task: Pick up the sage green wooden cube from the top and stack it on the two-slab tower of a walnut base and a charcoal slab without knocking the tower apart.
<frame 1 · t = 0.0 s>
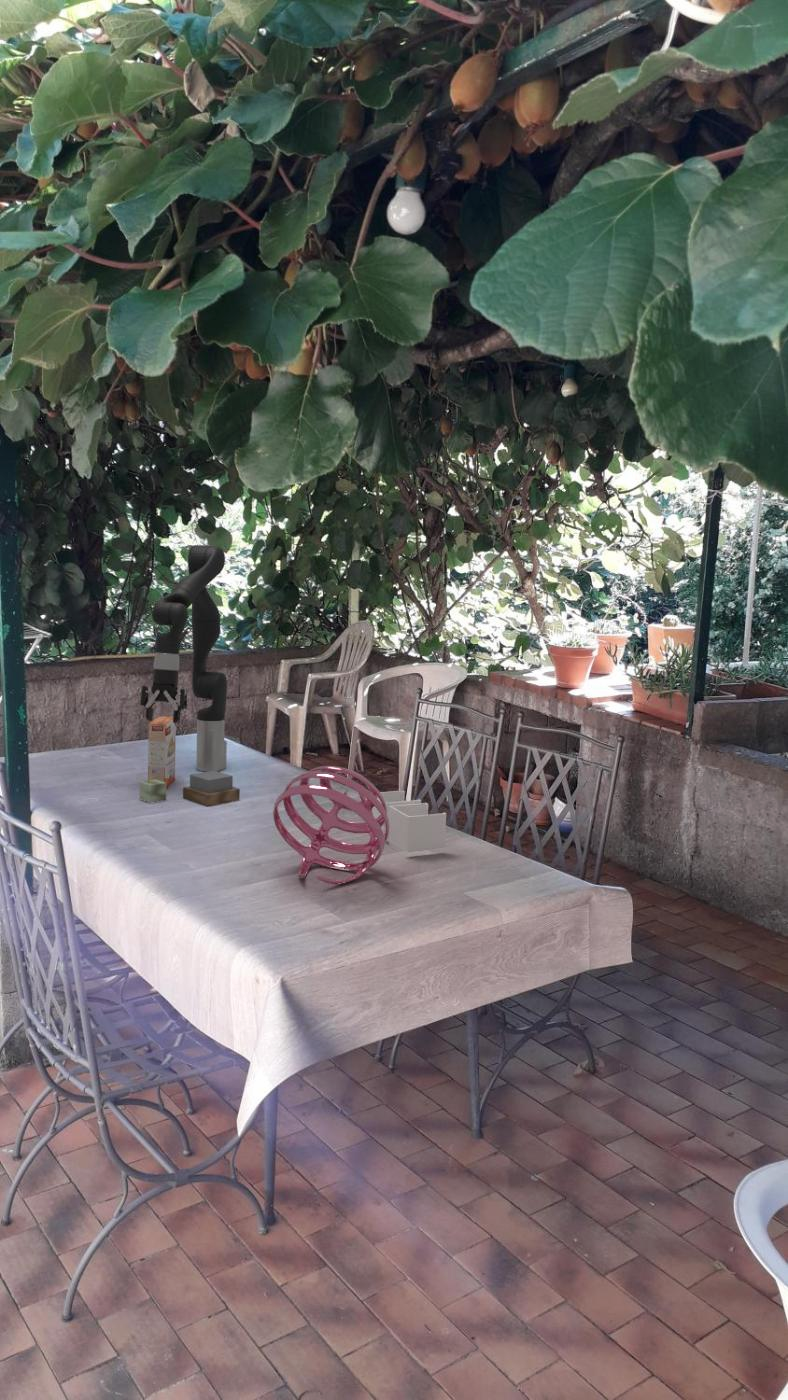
hand: (162, 721, 315), 22 cm above the table, tool pointing down, fingers open, 8 cm apart
green cube: (152, 800, 311), on the table
storage container: (403, 843, 279), on the table
top slab: (211, 788, 314), point 3 cm above the table, touching bottom slab
bottom slab: (211, 801, 314), on the table, touching top slab
cracker box: (162, 785, 329), on the table
spiral basket: (333, 875, 250), on the table
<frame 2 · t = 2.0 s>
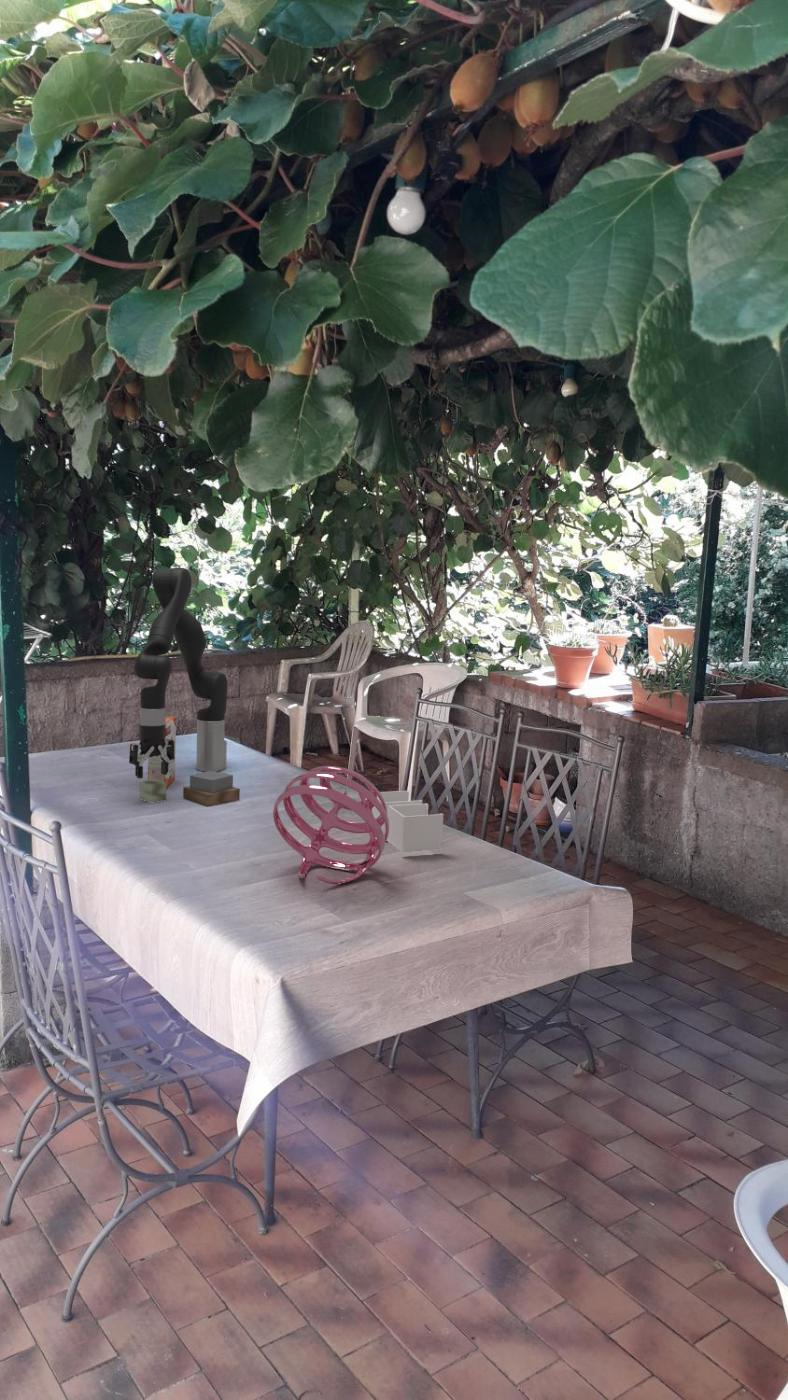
hand: (151, 776, 309), 7 cm above the table, tool pointing down, fingers open, 8 cm apart
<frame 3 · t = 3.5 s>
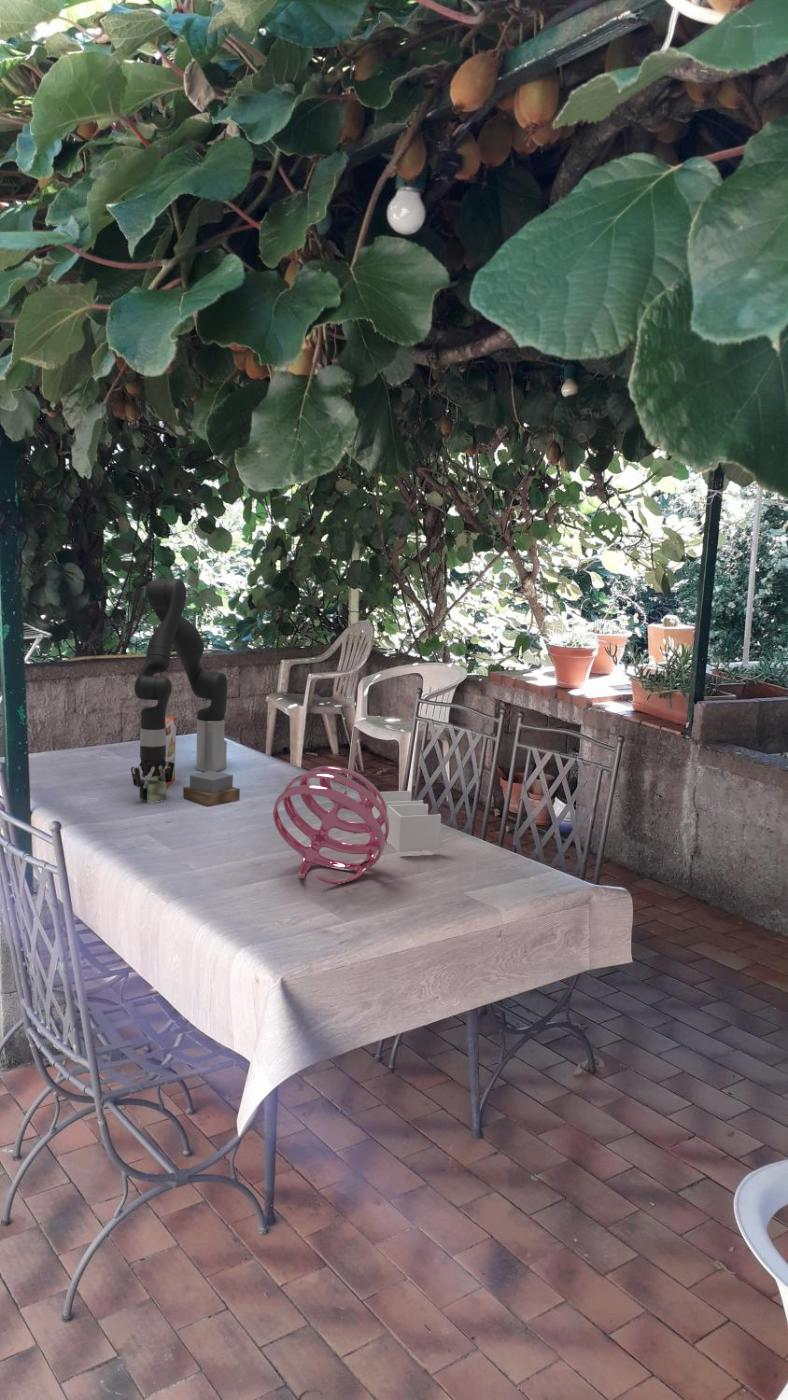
hand: (152, 798, 311), 1 cm above the table, tool pointing down, fingers closed on green cube, 5 cm apart
green cube: (152, 800, 311), on the table, touching gripper
top slab: (211, 788, 313), point 3 cm above the table
bottom slab: (211, 801, 314), on the table
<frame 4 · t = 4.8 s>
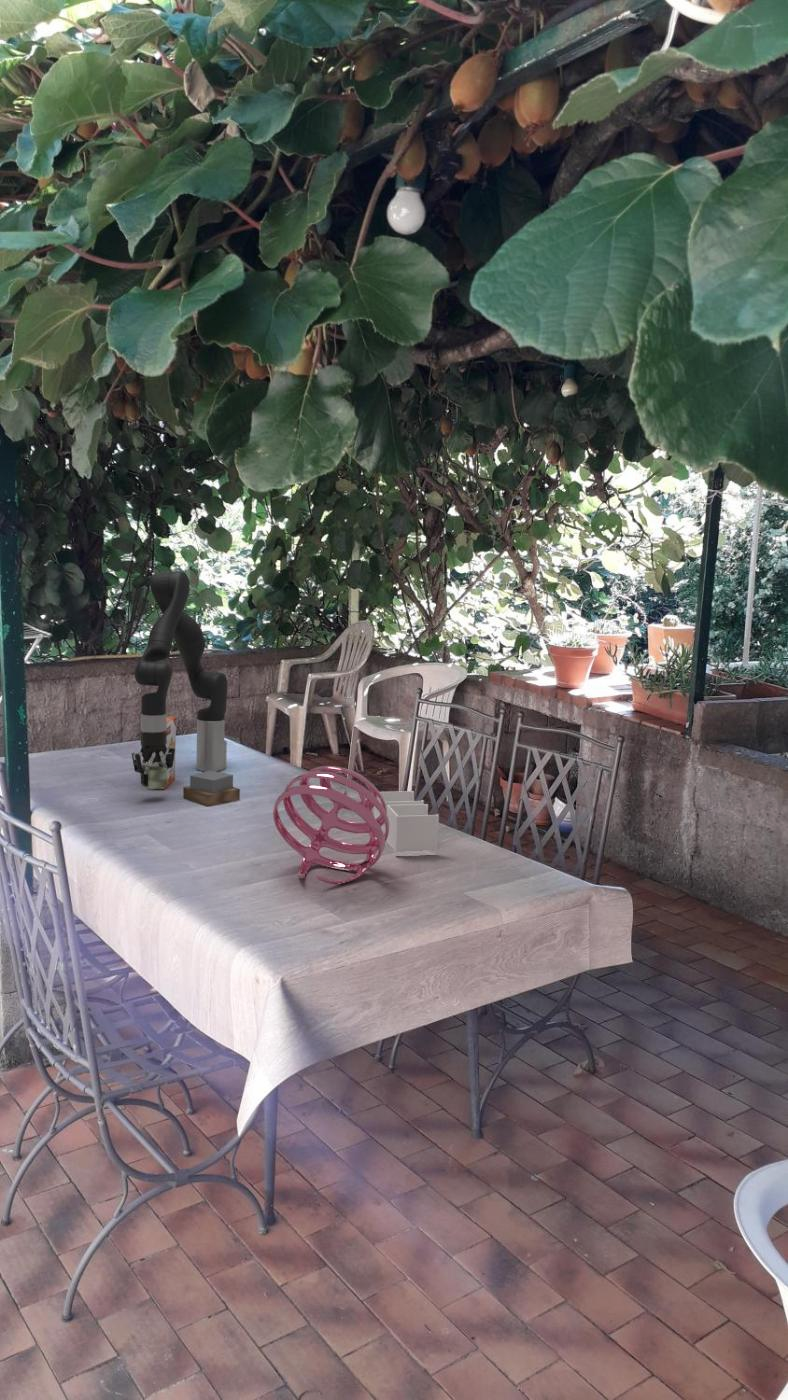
hand: (153, 784, 310), 5 cm above the table, tool pointing down, fingers closed on green cube, 5 cm apart
green cube: (153, 786, 310), point 4 cm above the table, touching gripper
top slab: (211, 788, 313), point 3 cm above the table, touching bottom slab
bottom slab: (211, 800, 314), on the table, touching top slab
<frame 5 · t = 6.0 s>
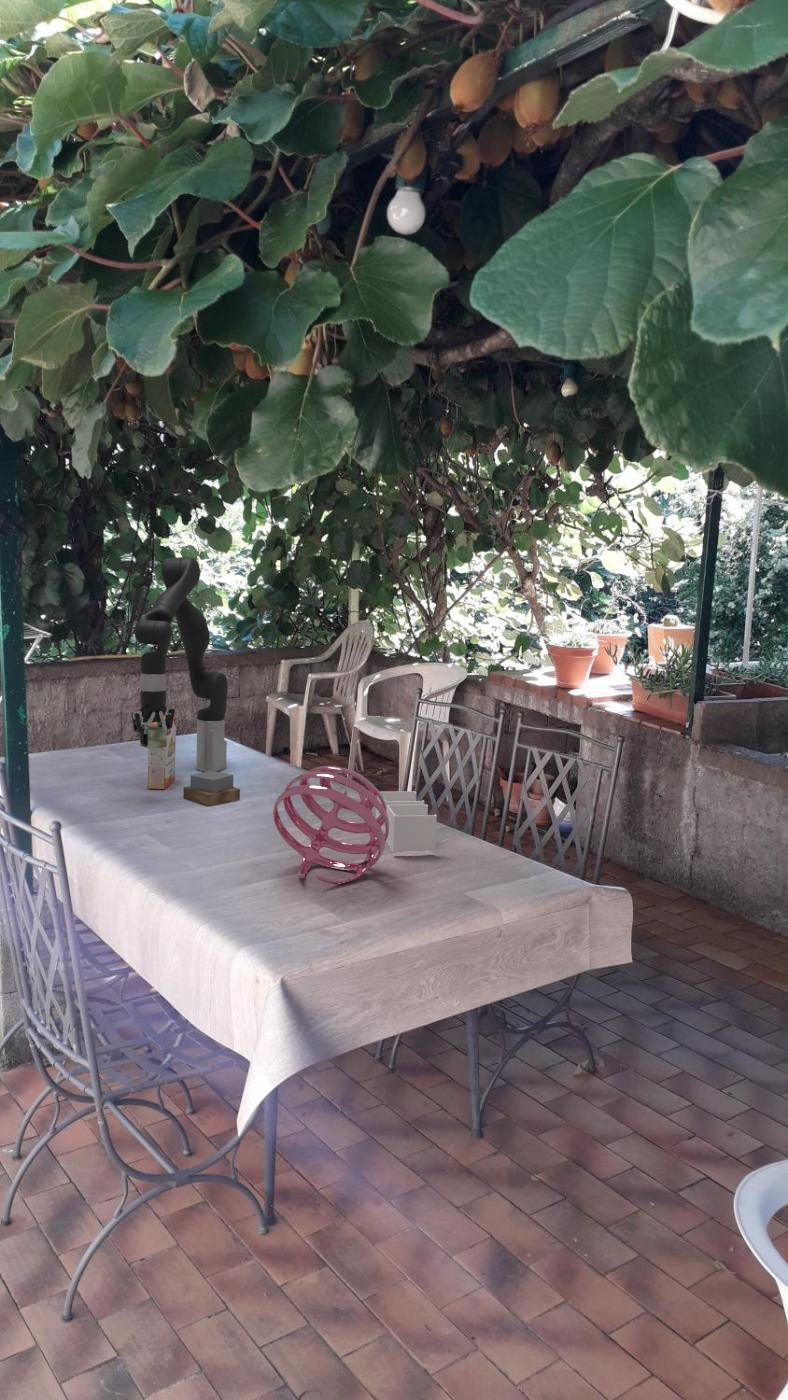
hand: (153, 744, 308), 17 cm above the table, tool pointing down, fingers closed on green cube, 5 cm apart
green cube: (153, 746, 308), point 16 cm above the table, touching gripper
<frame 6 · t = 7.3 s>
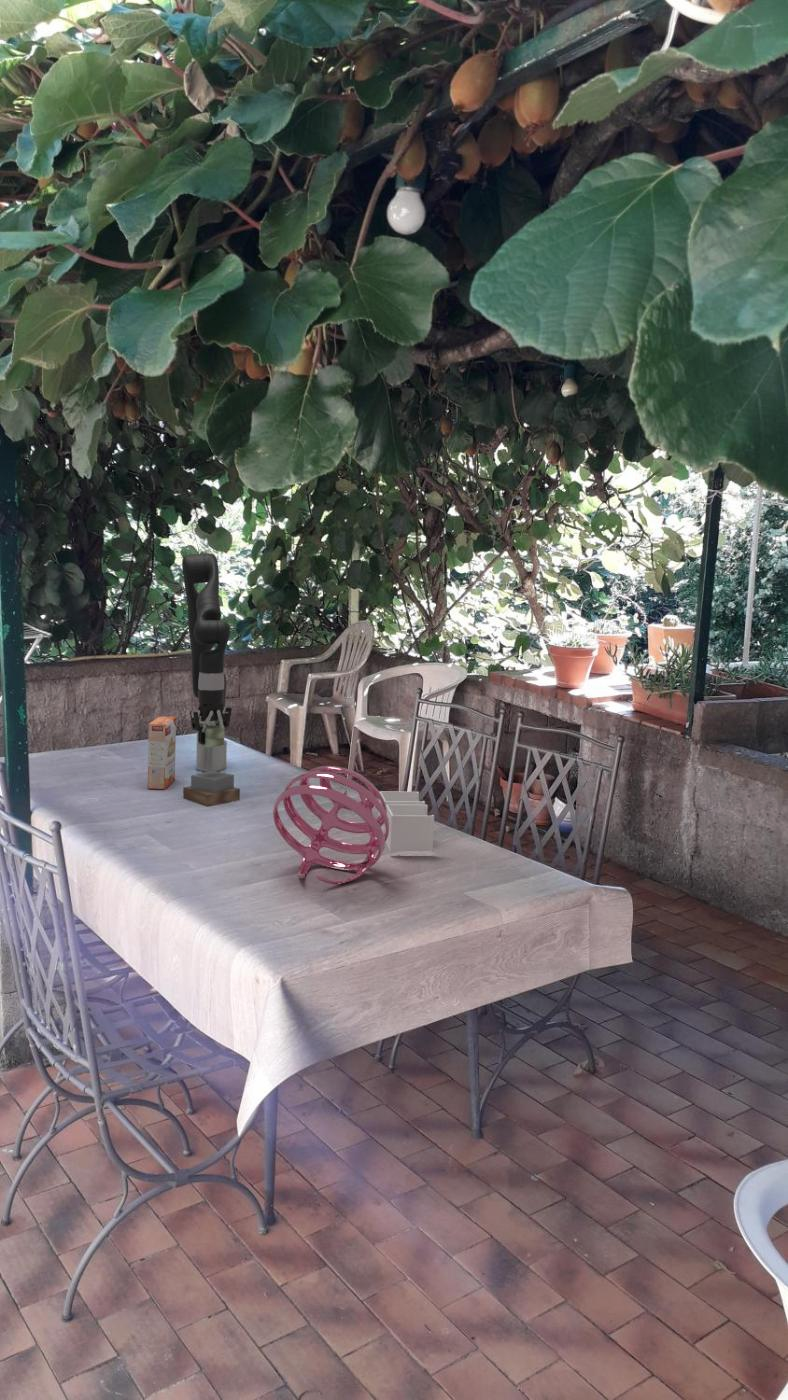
hand: (210, 742, 311), 17 cm above the table, tool pointing down, fingers closed on green cube, 5 cm apart
green cube: (210, 744, 311), point 17 cm above the table, touching gripper
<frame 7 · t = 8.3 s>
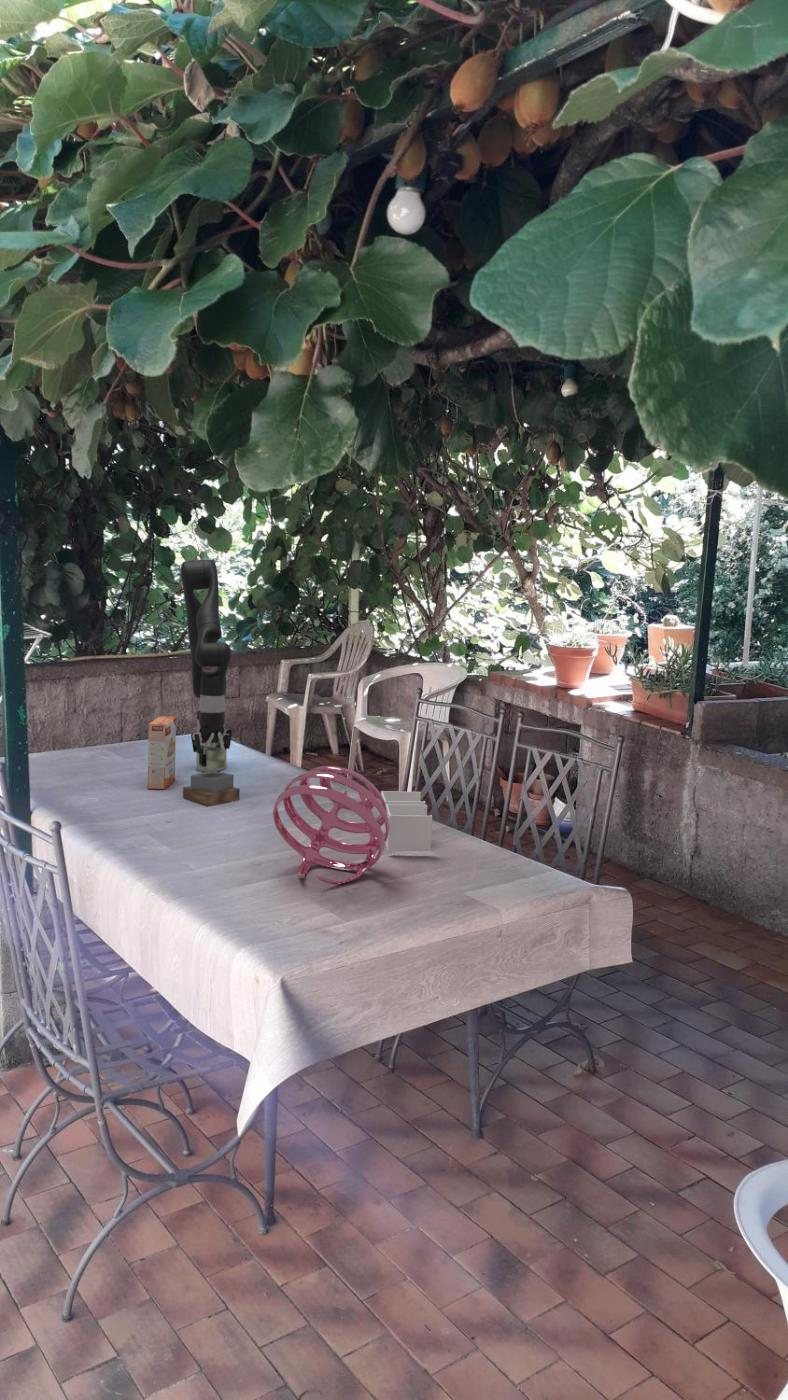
hand: (211, 764, 312), 11 cm above the table, tool pointing down, fingers closed on green cube, 5 cm apart
green cube: (211, 766, 313), point 10 cm above the table, touching gripper
when the fingers open (10 cm above the table, at t = 8.9 s): green cube drops 2 cm, resting on top slab.
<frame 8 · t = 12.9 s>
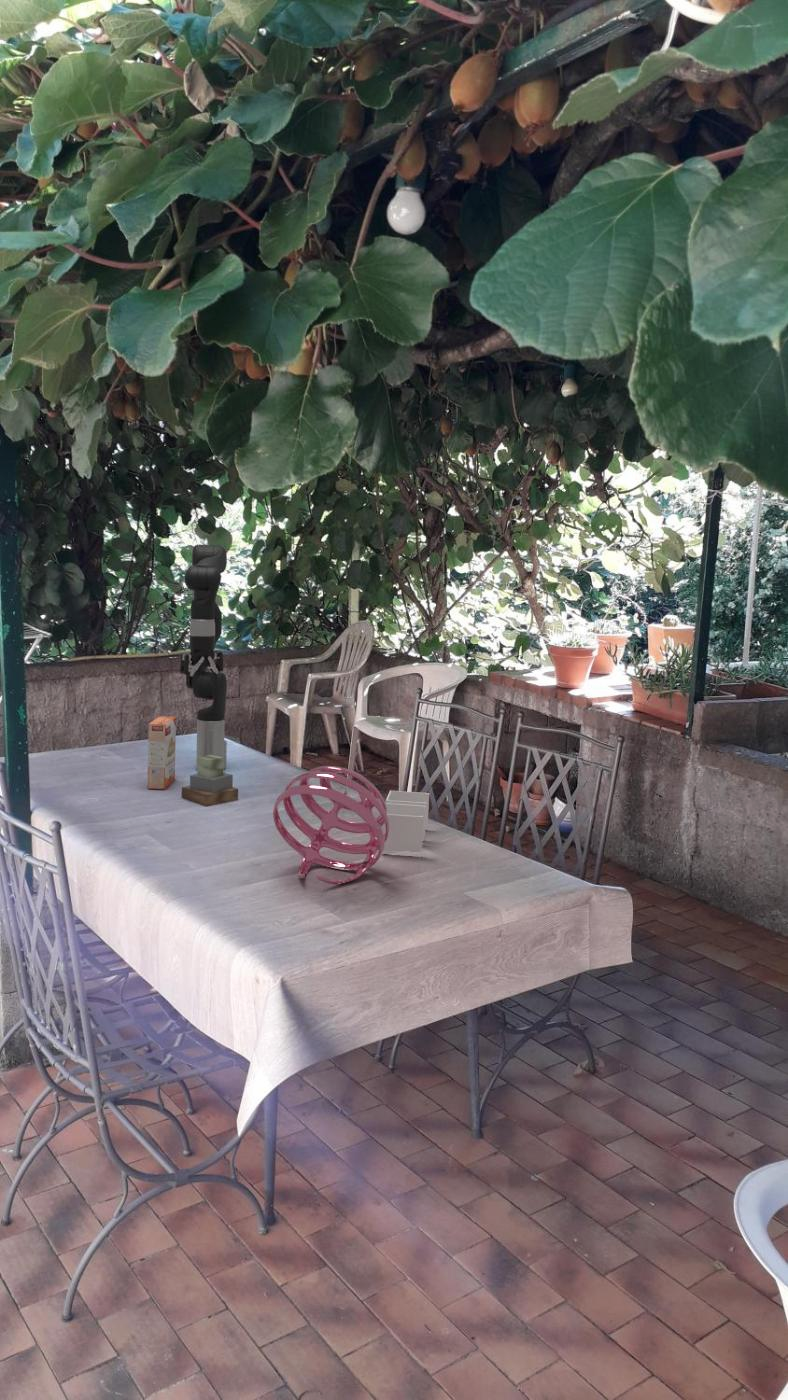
hand: (201, 687, 316), 33 cm above the table, tool pointing down, fingers open, 8 cm apart
green cube: (210, 775, 313), point 7 cm above the table, touching top slab
top slab: (211, 787, 314), point 3 cm above the table, touching bottom slab, green cube
at the end: green cube 0.5 cm off-centre on the top slab, point 4.0 cm above the top slab's base; top slab 0.4 cm off-centre on the bottom slab, point 4.0 cm above the bottom slab's base; the gripper is holding nothing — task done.
